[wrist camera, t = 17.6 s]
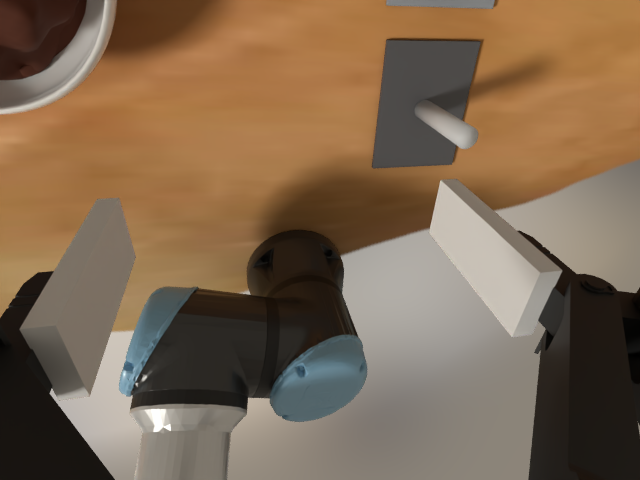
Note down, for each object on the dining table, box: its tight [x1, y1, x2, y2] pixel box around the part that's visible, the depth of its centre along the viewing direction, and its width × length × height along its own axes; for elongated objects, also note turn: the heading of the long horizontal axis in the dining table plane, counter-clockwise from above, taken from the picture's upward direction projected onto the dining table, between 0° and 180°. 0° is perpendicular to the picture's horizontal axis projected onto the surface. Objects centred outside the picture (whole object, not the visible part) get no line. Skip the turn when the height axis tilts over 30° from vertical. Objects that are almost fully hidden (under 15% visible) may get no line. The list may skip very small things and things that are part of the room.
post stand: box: [372, 40, 480, 168], centre depth 46 cm, size 16×12×12 cm
